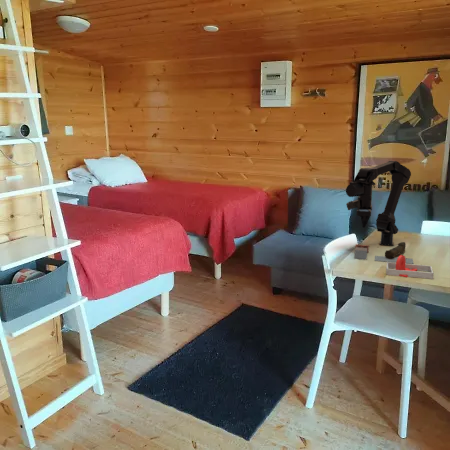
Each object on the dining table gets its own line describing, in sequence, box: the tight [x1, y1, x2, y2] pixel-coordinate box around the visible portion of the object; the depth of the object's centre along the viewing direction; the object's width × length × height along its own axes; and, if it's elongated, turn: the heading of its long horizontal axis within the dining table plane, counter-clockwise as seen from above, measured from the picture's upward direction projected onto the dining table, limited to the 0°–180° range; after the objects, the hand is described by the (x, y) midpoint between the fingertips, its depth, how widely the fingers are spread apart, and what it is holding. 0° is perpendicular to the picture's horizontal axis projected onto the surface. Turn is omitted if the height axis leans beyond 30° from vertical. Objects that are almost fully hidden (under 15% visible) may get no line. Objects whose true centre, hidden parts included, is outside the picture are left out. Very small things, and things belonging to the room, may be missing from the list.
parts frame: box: [385, 262, 434, 280], centre depth 179 cm, size 10×17×2 cm, turn 70°
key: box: [354, 244, 370, 253], centre depth 207 cm, size 7×6×3 cm
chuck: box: [354, 247, 368, 260], centre depth 201 cm, size 5×5×4 cm
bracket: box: [395, 254, 418, 278], centre depth 179 cm, size 12×4×8 cm, turn 137°
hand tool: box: [384, 242, 406, 259], centre depth 204 cm, size 19×4×5 cm, turn 135°
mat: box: [374, 255, 415, 265], centre depth 197 cm, size 8×16×1 cm, turn 70°
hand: (363, 227), depth 213 cm, fingers closed
